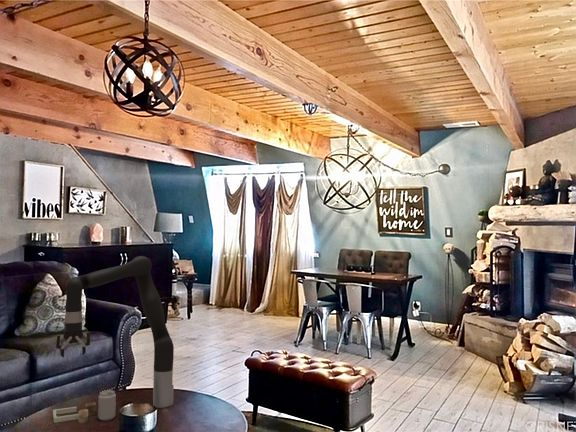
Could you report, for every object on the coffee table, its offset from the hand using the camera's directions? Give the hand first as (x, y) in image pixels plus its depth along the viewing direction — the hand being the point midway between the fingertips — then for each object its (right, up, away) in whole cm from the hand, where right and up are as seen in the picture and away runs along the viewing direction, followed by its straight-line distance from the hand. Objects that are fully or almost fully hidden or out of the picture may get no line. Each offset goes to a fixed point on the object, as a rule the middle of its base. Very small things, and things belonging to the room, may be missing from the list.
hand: (73, 355), depth 225 cm
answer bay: (-2, -28, -2) cm, 28 cm away
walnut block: (+7, -28, +2) cm, 29 cm away
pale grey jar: (+17, -28, -3) cm, 33 cm away
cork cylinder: (+8, -28, -8) cm, 30 cm away
